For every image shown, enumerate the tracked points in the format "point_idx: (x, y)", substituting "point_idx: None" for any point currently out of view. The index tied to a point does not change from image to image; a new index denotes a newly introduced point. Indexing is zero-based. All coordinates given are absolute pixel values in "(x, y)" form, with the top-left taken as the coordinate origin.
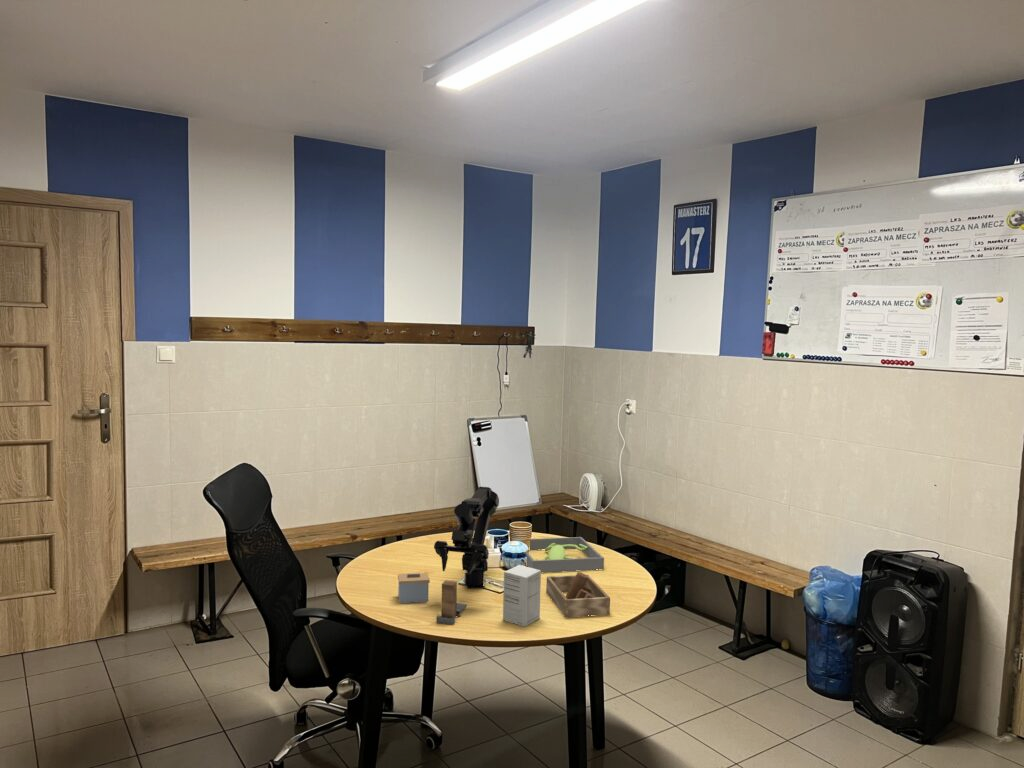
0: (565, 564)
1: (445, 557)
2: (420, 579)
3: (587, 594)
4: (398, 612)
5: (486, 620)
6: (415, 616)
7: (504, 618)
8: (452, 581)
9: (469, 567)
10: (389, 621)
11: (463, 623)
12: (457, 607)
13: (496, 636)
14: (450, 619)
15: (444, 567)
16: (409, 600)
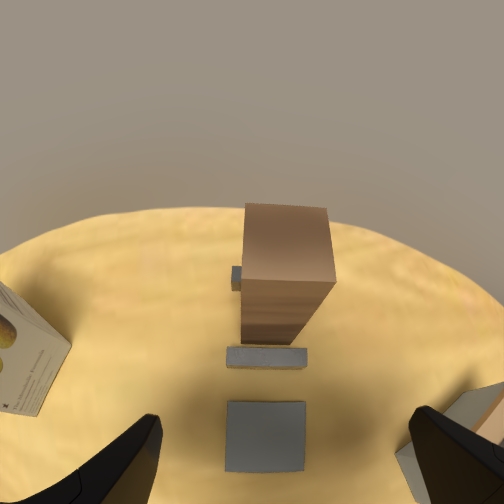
0: None
1: (484, 493)
2: None
3: None
4: (439, 323)
5: (121, 336)
6: (385, 311)
7: (63, 338)
8: (274, 266)
9: (138, 447)
10: (425, 256)
11: (200, 295)
12: (259, 428)
13: (96, 227)
14: None
15: (427, 427)
16: (449, 411)
